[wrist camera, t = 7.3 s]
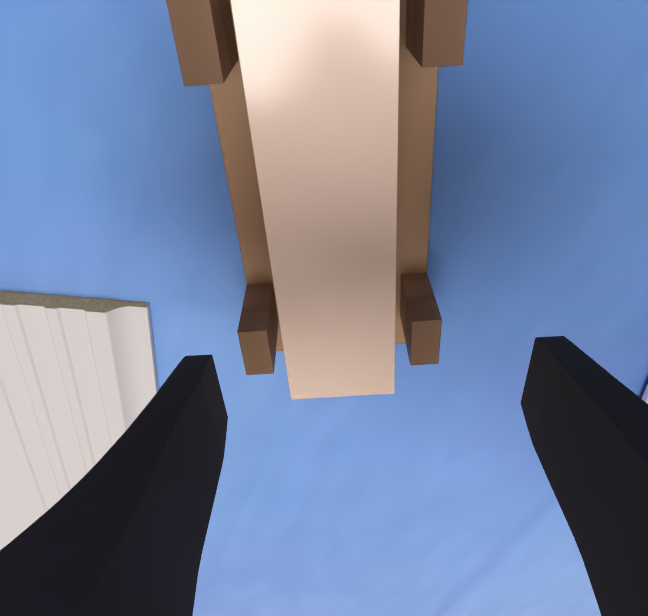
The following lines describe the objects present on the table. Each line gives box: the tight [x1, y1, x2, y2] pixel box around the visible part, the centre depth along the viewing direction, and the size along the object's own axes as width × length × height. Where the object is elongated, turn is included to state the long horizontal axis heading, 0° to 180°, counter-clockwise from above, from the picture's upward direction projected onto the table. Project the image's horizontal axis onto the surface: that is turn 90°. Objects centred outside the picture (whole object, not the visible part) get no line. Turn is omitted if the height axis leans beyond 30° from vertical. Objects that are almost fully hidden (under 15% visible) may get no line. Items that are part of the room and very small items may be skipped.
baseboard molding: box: [0, 291, 158, 550], centre depth 30 cm, size 31×3×12 cm
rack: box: [166, 0, 468, 375], centre depth 17 cm, size 7×15×4 cm, turn 4°
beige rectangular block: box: [231, 0, 400, 399], centre depth 16 cm, size 4×12×4 cm, turn 4°
